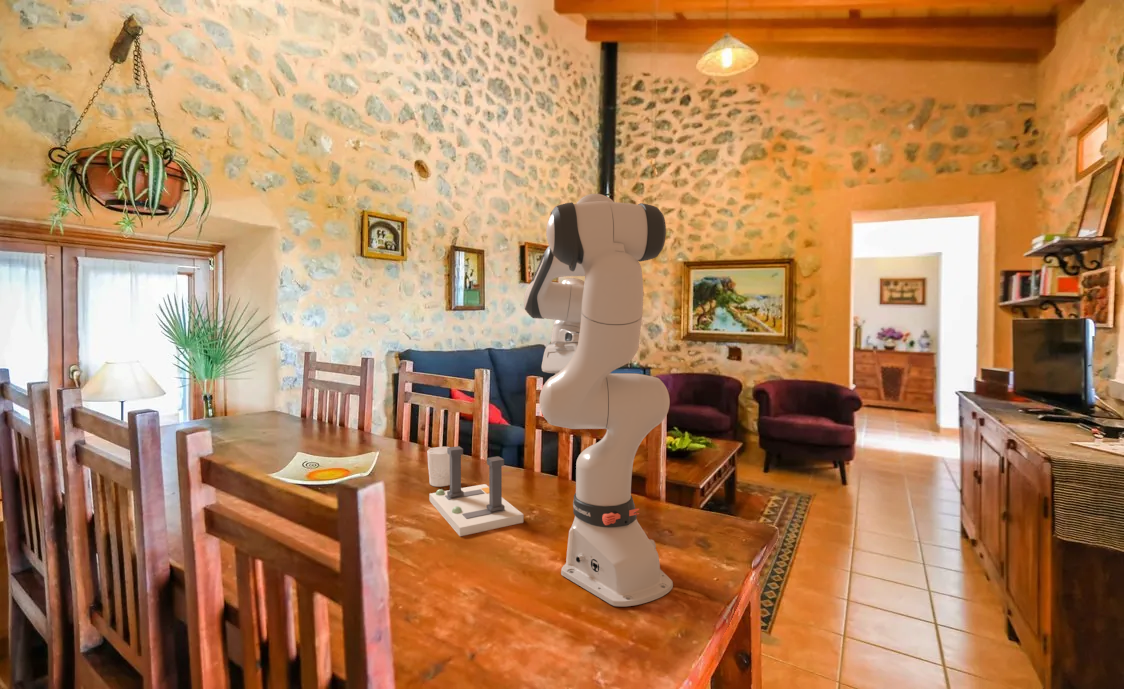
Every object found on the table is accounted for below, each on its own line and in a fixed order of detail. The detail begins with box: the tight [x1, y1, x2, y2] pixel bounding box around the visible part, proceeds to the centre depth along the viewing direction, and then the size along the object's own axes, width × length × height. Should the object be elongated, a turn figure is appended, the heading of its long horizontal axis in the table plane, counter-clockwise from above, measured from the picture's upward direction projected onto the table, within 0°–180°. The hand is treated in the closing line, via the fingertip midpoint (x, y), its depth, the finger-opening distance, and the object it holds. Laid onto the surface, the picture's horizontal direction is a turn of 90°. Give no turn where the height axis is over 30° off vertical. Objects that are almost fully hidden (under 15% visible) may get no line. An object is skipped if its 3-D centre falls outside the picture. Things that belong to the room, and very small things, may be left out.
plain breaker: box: [486, 455, 505, 512], centre depth 126 cm, size 3×4×12 cm
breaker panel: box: [428, 483, 524, 537], centre depth 131 cm, size 25×16×3 cm, turn 30°
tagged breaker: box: [446, 445, 464, 498], centre depth 136 cm, size 3×4×12 cm
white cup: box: [426, 446, 450, 488], centre depth 152 cm, size 8×8×10 cm
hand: (561, 389), depth 138 cm, fingers closed
